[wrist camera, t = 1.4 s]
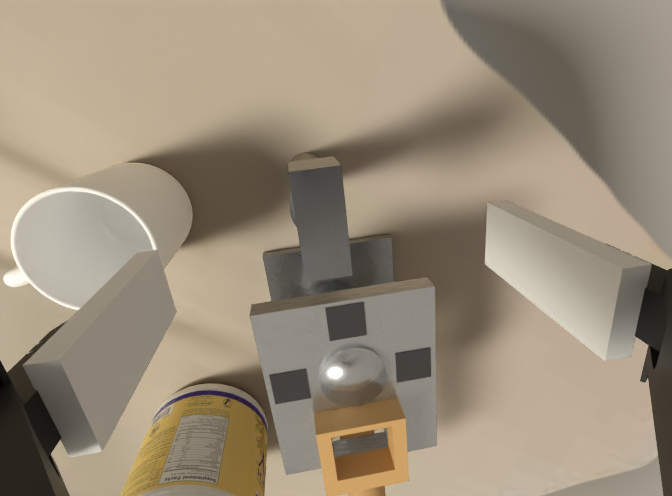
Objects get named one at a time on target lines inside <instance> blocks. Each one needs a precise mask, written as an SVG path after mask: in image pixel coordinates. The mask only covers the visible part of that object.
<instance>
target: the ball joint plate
mask: <svg viewBox="0 0 672 496" xmlns="http://www.w3.org/2000/svg"><path fill="white" fill-rule="evenodd" d="M349 246H350V255H351V265H352V276H346V277H339V278H333V279H326V280H320V281H313V282H307V283H306V281H305V274H304V268H303V262H302V255H301V249H300V247H296V248H290V249H283V250H276V251H269V252H263V261H264V266H265V271H266V276H267V281H268V286H269V291H270V296H271V302H264V303H258V304H252V305H251V311H250V320H251V324H252V328H253V333H254V337H255V341H256V346H257V350H258V355H259V359H260V363H261V368H262V372H263V376H264V381H265V385H266V390H267V394H268V398H269V403H270V407H271V411H272V416H273V420H274V425H275V429H276V433H277V438H278V442H279V446H280V451H281V455H282V460H283V464H284V468H285V473H286V475H289V474H294V473H299V472H304V471H309V470H315V469H320V468H322V467H321V462H320V456H319V450H318V444H317V439H316V431H315V420H314V413H317V412H322V411H328V410H333V409H339V408H344V407H355V406H360V405H363V404H366V403H372V402H377V401H383V400H388V399H394V398H398V400H399V402H400V405H401V407H402V410H403V413H404V415H405V418H406V435H407V452H408V451H413V450H419V449H424V448H429V447H434V446H437V414H436V330H435V286H434V285H433V283H432V282H431V281H430V280H429V278H428V277H423V278H417V279H410V280H404V281H397V282H394V271H393V253H392V237H391V236H390V235H389V234H384V235H378V236H371V237H364V238H357V239H351V240H349ZM332 445H333V451H334V457H339V456H345V455H350V454H355V453H360V452H366V451H371V450H376V449H381V448H387V447H389V446H388V433H387V427H386V428H384V432H381V433H376V434H370V435H365V436H360V437H354V438H349V439H344V440H338V441H333V442H332Z"/></svg>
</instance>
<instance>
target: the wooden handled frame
mask: <svg viewBox="0 0 672 496" xmlns="http://www.w3.org/2000/svg"><path fill="white" fill-rule="evenodd" d="M314 420H315V431H316V439H317V444H318V450H319V456H320V462H321V467H322V473H323V479H324V484H325V490H326V496H335V495H340V494H345V493H349V496H385V486H386V485H391V484H396V483H401V482H406V481H409V473H408V454H407V435H406V418H405V415H404V413H403V410H402V407H401V405H400V402H399V400H398V398H394V399H388V400H383V401H377V402H372V403H366V404H363V405H360V406H355V407H344V408H339V409H333V410H328V411H322V412H317V413H314ZM386 427H387V433H388V446H389V447H387V448H381V449H376V450H371V451H366V452H360V453H355V454H350V455H345V456H339V457H334V451H333V445H332V437H338V436H340V440H344V439H349V438H354V437H360V436H365V435H370V434H374V430H375V429H380V428H386Z"/></svg>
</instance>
